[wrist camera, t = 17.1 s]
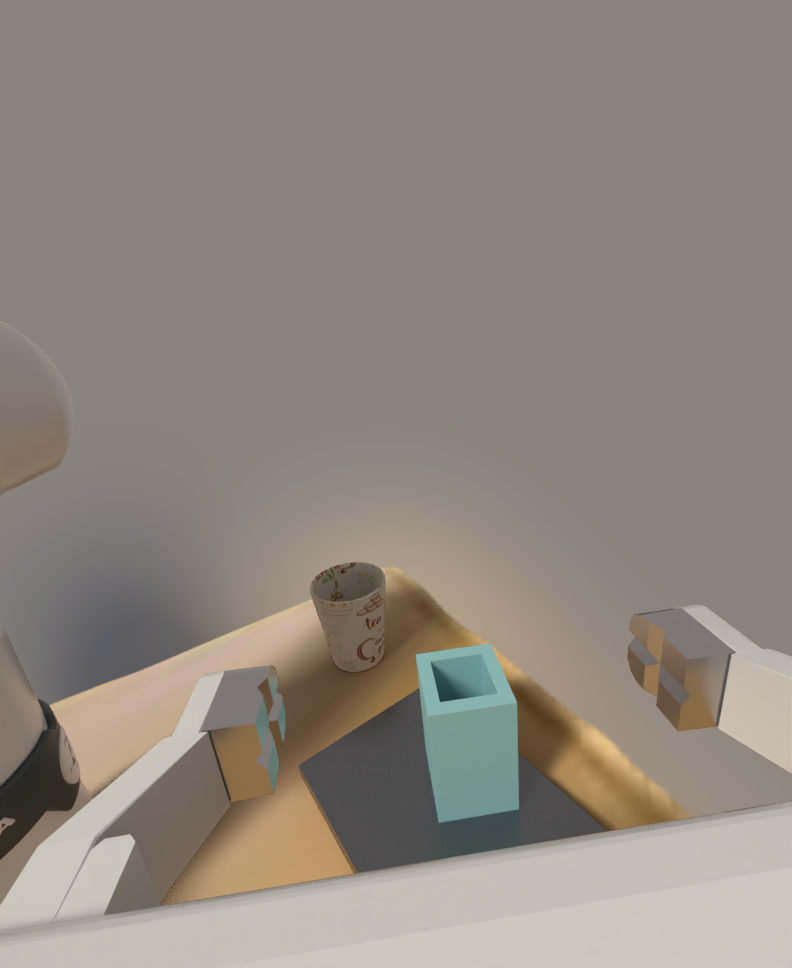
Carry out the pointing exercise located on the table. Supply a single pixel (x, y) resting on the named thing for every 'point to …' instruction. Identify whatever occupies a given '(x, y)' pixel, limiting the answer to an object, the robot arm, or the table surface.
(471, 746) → the sleeve
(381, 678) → the table surface
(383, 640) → the mug
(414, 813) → the plate
